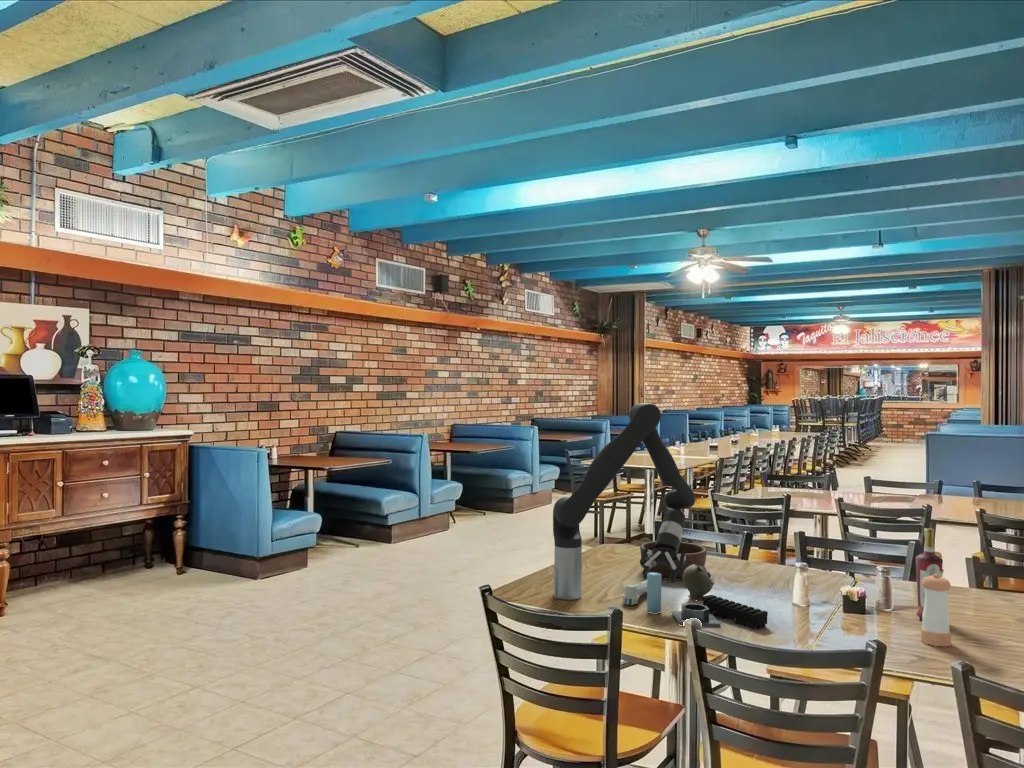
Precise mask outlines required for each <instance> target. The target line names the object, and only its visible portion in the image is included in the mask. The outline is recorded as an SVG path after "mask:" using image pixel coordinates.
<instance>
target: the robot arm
mask: <svg viewBox="0 0 1024 768" xmlns="http://www.w3.org/2000/svg"><path fill="white" fill-rule="evenodd" d="M628 413H629V415H628V418H629V422H628V424H627V426H626V427H625V428H624V429H623V431H621V432H620V433H619V434H618V435H617V436H615V437H614V438H613V439H611V441H609V442H608V443H607V444H606V445H604V447H603V448H602V449H601V450H600V451H599V452H598V453H597V455H596V456H595V457H594V459H592V461H591V463H590V465H589V467H587V470H586V472H585V474H584V477H583V479H582V481H581V483H580V485H579V486H578V487H577V489H575V491H574V492H573V493H572V494H571V495H570V496H562V497H561V498H559V499H557V500H556V502H555V503H554V505H553V510H552V530H553V531H552V533H553V539H554V553H553V554H554V555H553V556H554V557H553V559H554V564H553V597H554V599H559V600H569V601H571V600H572V601H573V600H578V599H580V598H581V597H582V570H583V569H582V561H583V560H582V559H583V557H582V554H583V553H582V552H583V551H582V550H583V549H582V547H583V544H582V543H583V540H582V535H581V533H580V532H581V531H580V524H581V523H582V522H583V520H584V519H585V517H586V515H587V514H588V512H589V511H590V509H591V508H592V506H593V504H594V503H595V502H596V500H597V499H598V498H599V496H601V494H602V493H603V492H604V490H606V488H607V487H608V486H609V485H610V483H611V482H612V480H614V479H615V477H616V476H617V475H618V474H619V472H620V471H621V469H622V468H624V466H625V464H626V463H627V462H628V461H629V459H630V457H632V455H633V454H634V452H635V451H636V450H637V448H639V447H638V446H639V445H640V444H641V443H642V442H643V444H644V446H645V448H646V451H647V453H648V454H649V457H650V458H651V460H652V463H653V465H654V468H655V470H656V472H657V475H658V477H659V480H660V482H661V484H662V485H663V486H666V487H672V488H674V489H671V490H668V491H667V492H666V493H665V495H664V497H663V505H664V507H663V508H664V509H663V510H664V511H663V513H664V514H663V515H664V516H663V520H662V523H661V525H660V528H659V530H658V534H657V538H656V540H655V541H656V544H655V548H654V550H653V551H649V550H648V549H647V548H645V549H644V551H643V554H642V557H640V560H639V564H640V567H641V568H642V569H643V570H642V573H641V575H642V577H643V579H644V580H647V573H649V571H650V570H649V569H650V568H652V567H654V566H656V565H657V564H658V565H664V566H668V565H670V566H671V568H672V569H673V570H671V574H670V578H669V579H668V580H669V584H673V583H675V581H676V580H675V579H676V576H677V573H679V572H681V573H683V572H684V568H685V562H686V556H685V554H684V553H681V554H677V552H678V549H679V545H680V542H682V536H683V529H684V525H685V521H686V516H685V515H686V514H685V513H684V512H683V511H682V510H684V509H688V508H689V509H690V508H692V507H693V506H694V505H695V503H696V495H695V492H694V490H693V489H692V487H691V486H690V485H689V484H688V482H687V481H686V480H685V478H684V477H683V476H682V475H681V473H680V469H679V468H678V466H677V463H676V461H675V459H674V457H673V455H672V454H671V452H670V450H669V449H668V447H667V446H666V444H665V443H664V442H663V440H662V438H661V436H660V434H659V432H658V429H657V426H658V425H659V423H660V421H661V418H662V417H661V416H662V415H661V413H662V412H661V409H660V408H659V406H657V405H656V404H653V403H650V402H640V403H636V404H634V405H633V406H632V407H631V408H630V410H629V412H628ZM650 555H653V556H652V557H651V558H650V559H649V561H647V559H648V558H649V557H650ZM677 558H678V559H679V561H680V562H679V567H676V566H675V564H674V561H675V560H676V559H677ZM654 560H655V561H654Z"/></svg>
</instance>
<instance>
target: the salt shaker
mask: <svg viewBox="0 0 1024 768" xmlns="http://www.w3.org/2000/svg"><path fill="white" fill-rule="evenodd" d="M922 585H923V587H925V604H924V610H923V615H922V619H921V621H922V627H921V628H920V641H921V642H922V643H923V642H924V643H923V644H925V643H927V644H926V645H928V644H930V645H929V646H931V645H936V646H935V647H937V646H949V647H951V646H952V632H951V631H950V624H951V623H950V621H951V620H950V619H951V618H950V612H949V607H948V591H950V589H951V587H952V586H951V585H952V584H951V583H950V581H949V580H948V579H947V578H945V577H943V576H942V577H939V575H938V574H933V576H928V577H924V579H923V580H922ZM950 645H951V646H950Z"/></svg>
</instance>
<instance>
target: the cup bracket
mask: <svg viewBox="0 0 1024 768" xmlns="http://www.w3.org/2000/svg"><path fill="white" fill-rule="evenodd" d="M671 613H672V615H673V616H674V617H675V619H676V620H677V621H678V623H679V624H680V625H682V626H683V622H684V621H685V620H686V619H690V618H697V619H699V620H700V621H701V623H702V626H703V627H702V628H704V627H705V628H707V627H708V628H721V622H720V621H719V620H718V619H717V617H715V616H713V615H712V614H711V613H710V611H709V608H708V607H707V606H705V605H703V604H700V603H686V604H682V605H681V611H679V610H671V611H670V614H671ZM672 615H671V616H672ZM673 616H672V617H673ZM674 617H673V618H674ZM675 619H674V620H675ZM676 620H675V621H676ZM678 623H677V624H678ZM679 624H678V625H679Z"/></svg>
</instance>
